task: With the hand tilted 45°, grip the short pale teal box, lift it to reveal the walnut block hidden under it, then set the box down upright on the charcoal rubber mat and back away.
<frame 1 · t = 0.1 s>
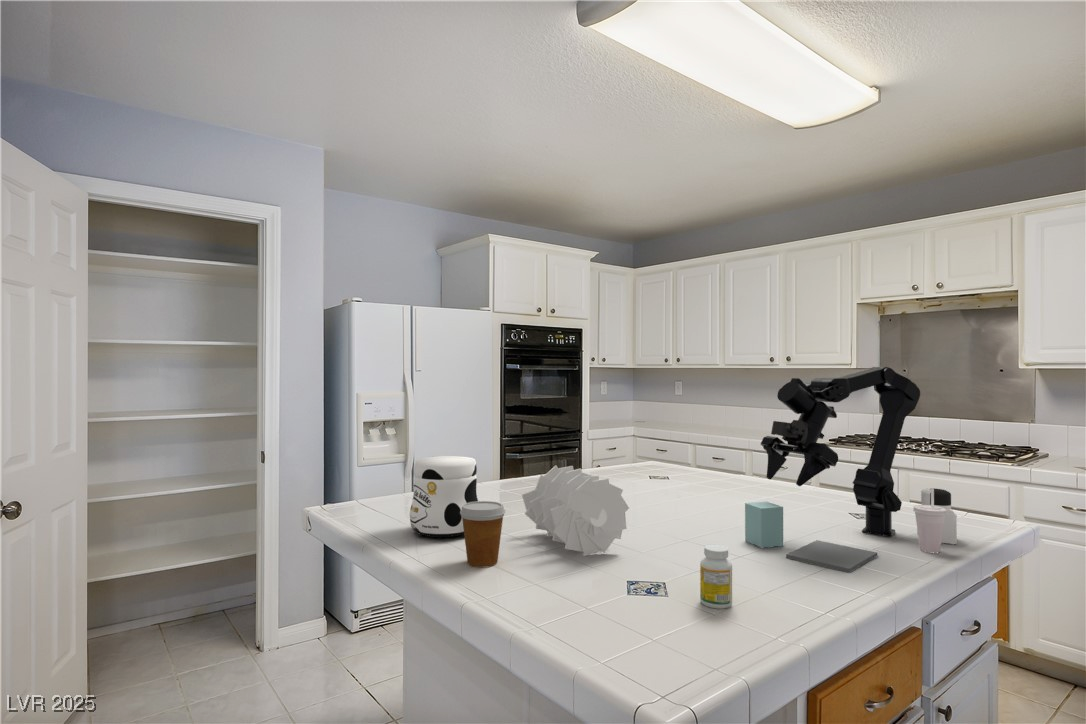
hand: (782, 481, 139), 15 cm above the counter, tool tilted 35°, fingers open, 9 cm apart
disposable coffee cup: (482, 563, 126), on the counter
milk container: (445, 533, 150), on the counter
supplement bottle: (716, 604, 104), on the counter
spiral staircase: (573, 545, 140), on the counter
mat: (831, 557, 131), on the counter
smoothie: (930, 551, 135), on the counter
medicine bottle: (936, 540, 145), on the counter
pale teal box: (764, 543, 141), on the counter
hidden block: (763, 535, 141), in the pale teal box
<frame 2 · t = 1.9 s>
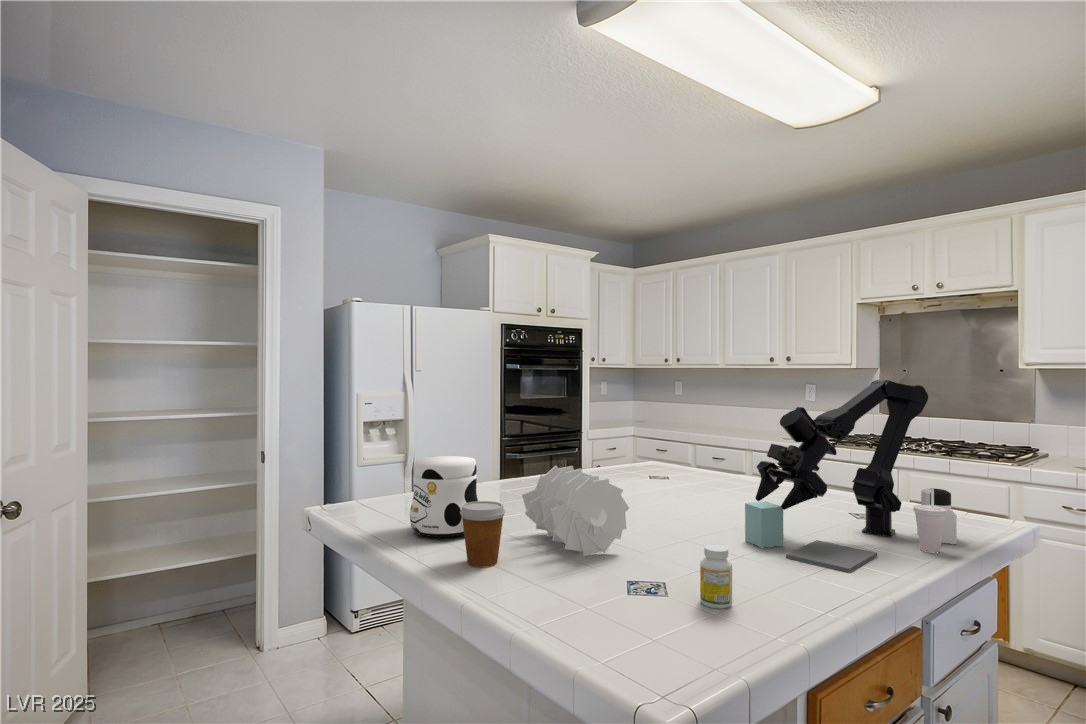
hand: (769, 504, 141), 9 cm above the counter, tool tilted 45°, fingers open, 9 cm apart
nothing on the counter moved.
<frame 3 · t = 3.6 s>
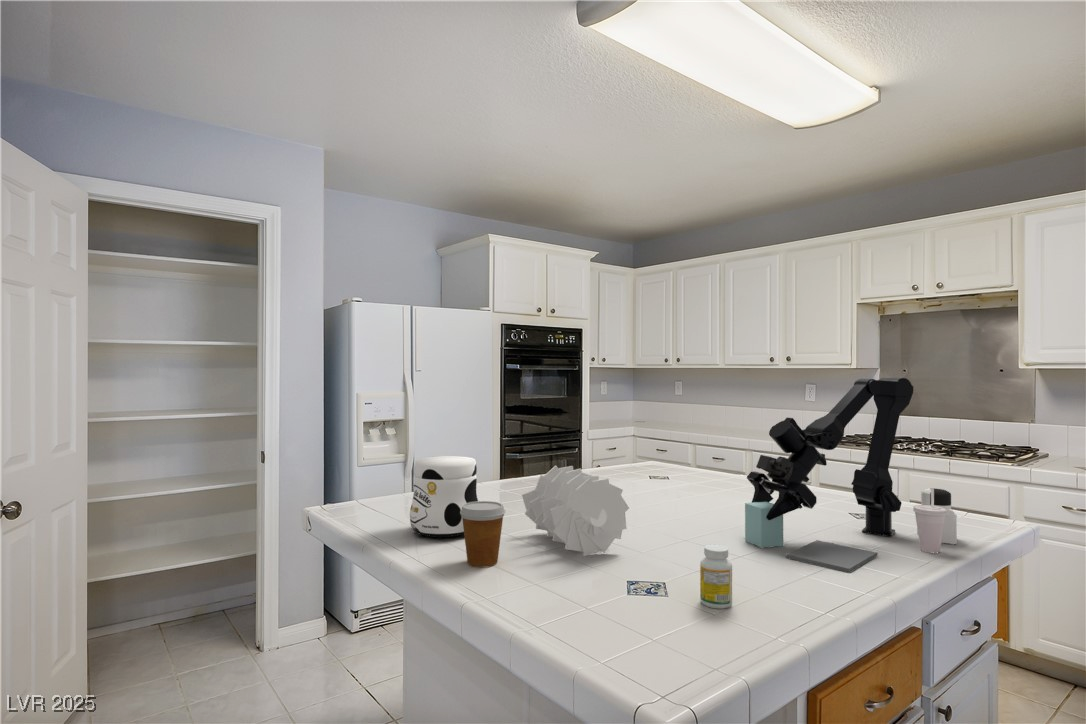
hand: (758, 515, 141), 7 cm above the counter, tool tilted 45°, fingers closed on pale teal box, 6 cm apart
pale teal box: (764, 543, 141), on the counter, touching gripper
everything else where it was.
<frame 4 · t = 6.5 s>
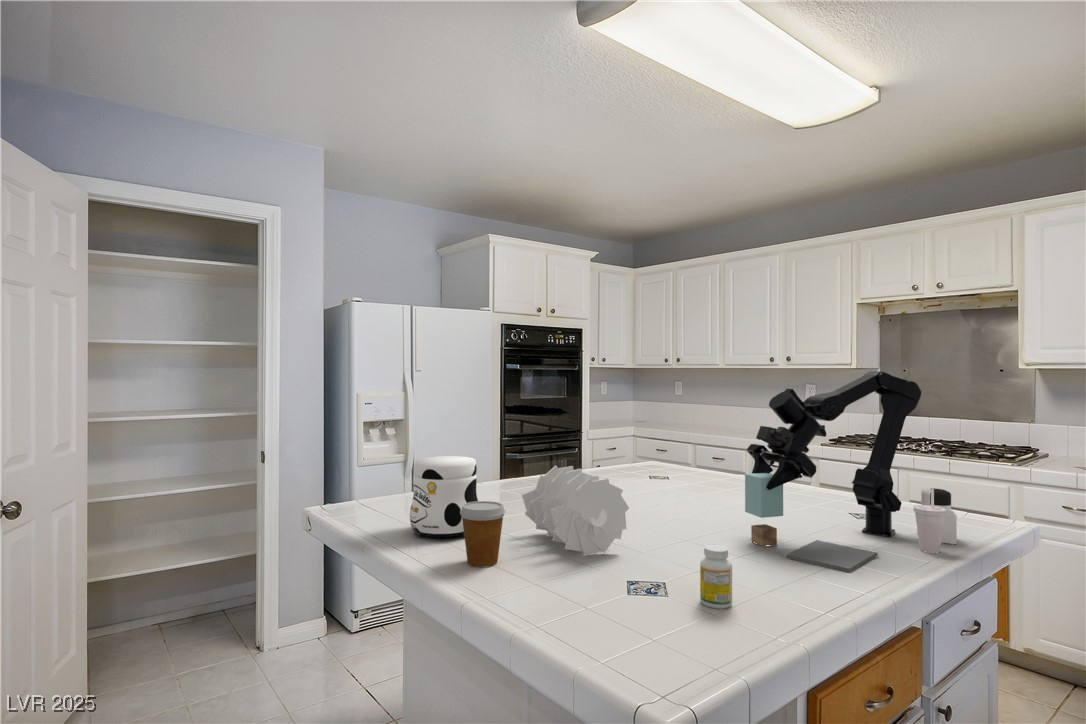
hand: (758, 486, 141), 13 cm above the counter, tool tilted 45°, fingers closed on pale teal box, 6 cm apart
pale teal box: (763, 513, 141), point 7 cm above the counter, touching gripper
everything else where it was.
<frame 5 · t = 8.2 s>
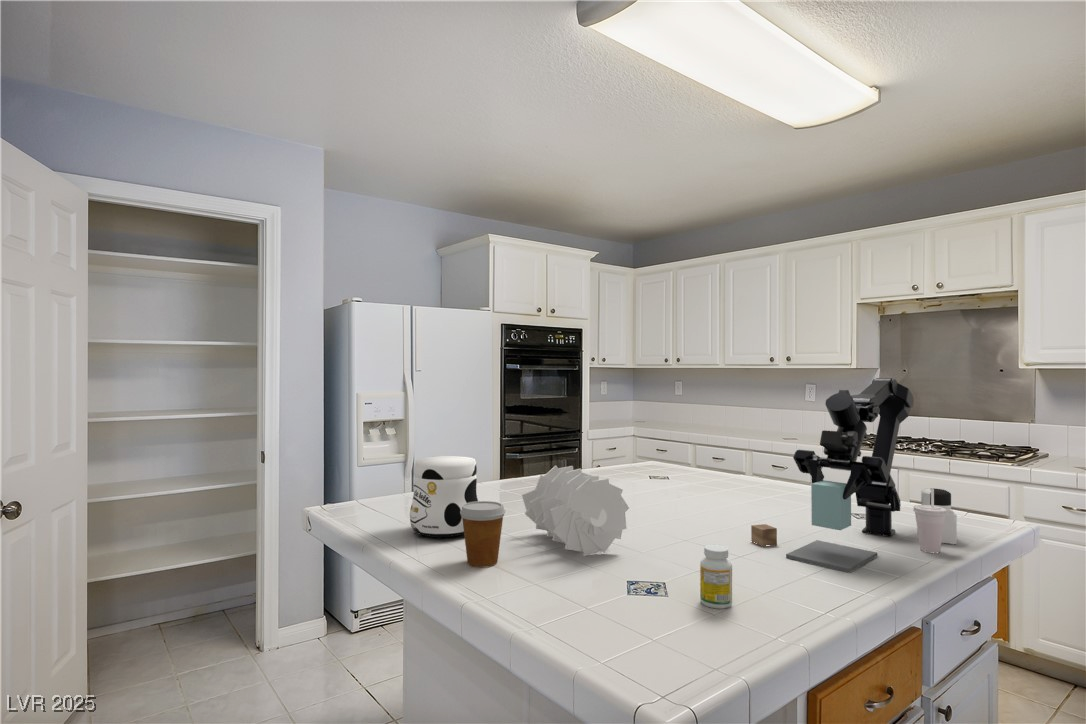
hand: (828, 495, 130), 13 cm above the counter, tool tilted 45°, fingers closed on pale teal box, 6 cm apart
pale teal box: (831, 525, 131), point 7 cm above the counter, touching gripper
everything else where it was.
when the fingers open (9 cm above the counter, at t = 9.7 s): pale teal box drops 1 cm, resting on mat.
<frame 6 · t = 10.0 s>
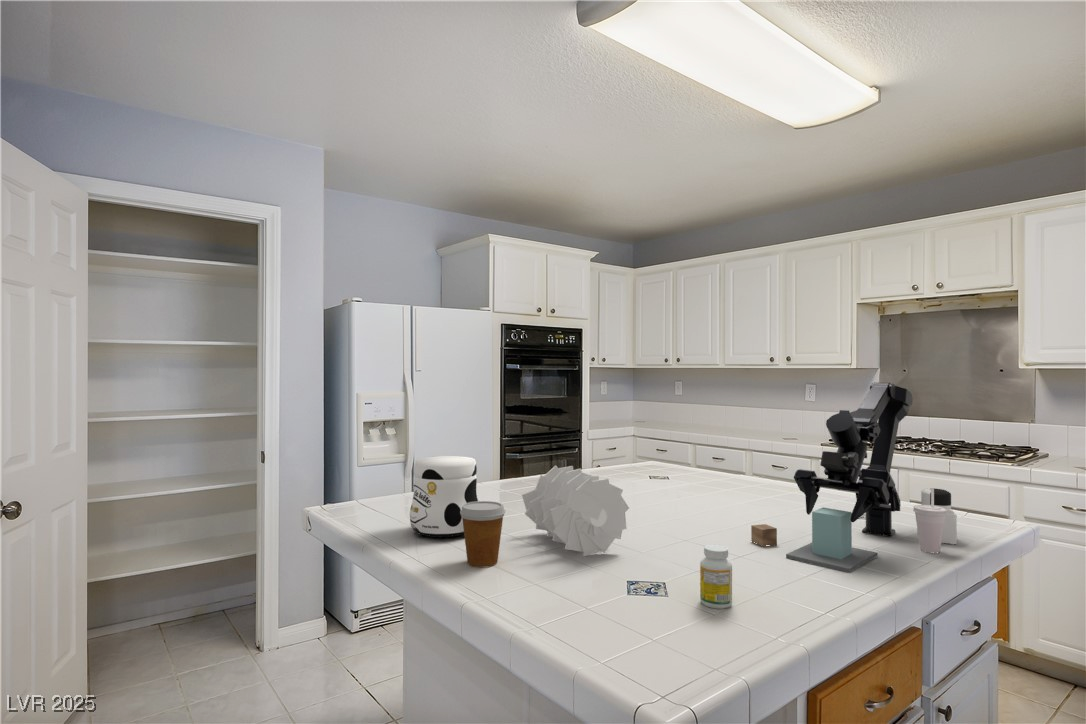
hand: (829, 517, 130), 9 cm above the counter, tool tilted 45°, fingers open, 9 cm apart
pale teal box: (831, 553, 131), point 1 cm above the counter, touching mat
everything else where it was.
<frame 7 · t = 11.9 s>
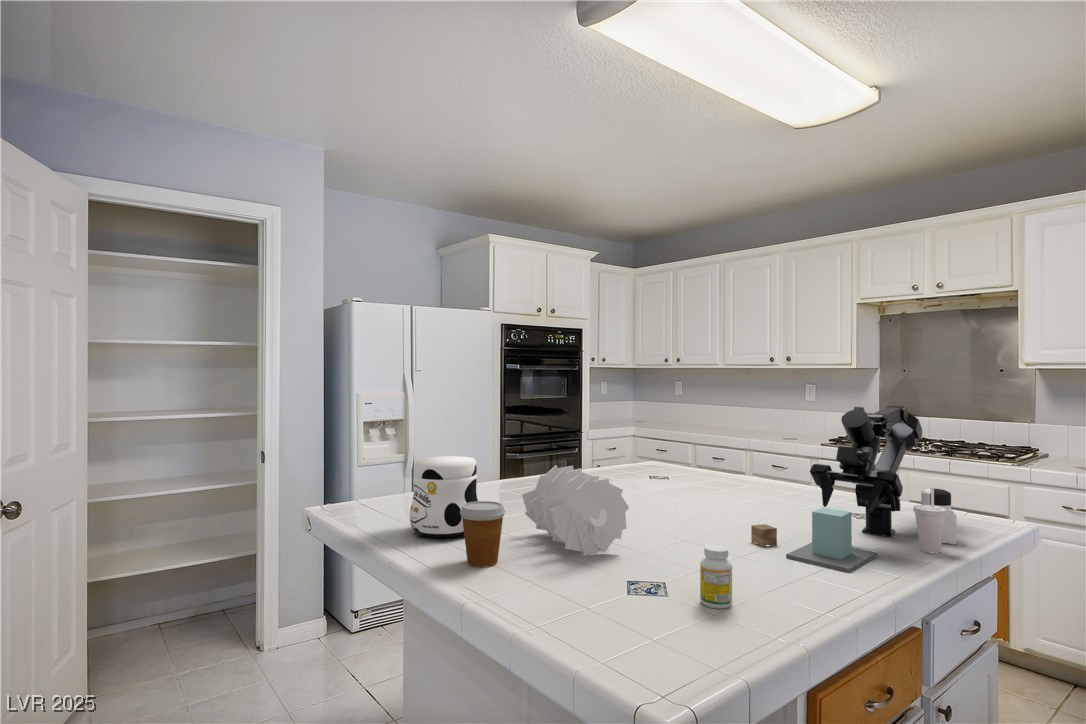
hand: (845, 509, 136), 9 cm above the counter, tool tilted 45°, fingers open, 9 cm apart
nothing on the counter moved.
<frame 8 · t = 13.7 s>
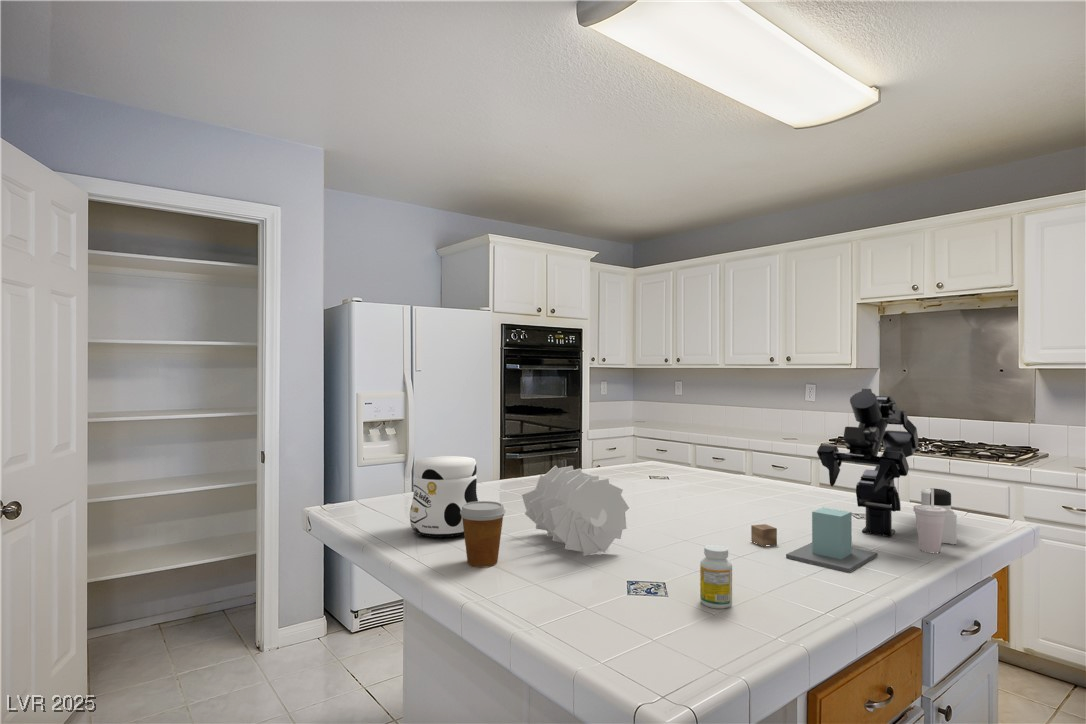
hand: (851, 488, 138), 14 cm above the counter, tool tilted 45°, fingers open, 9 cm apart
nothing on the counter moved.
at the end: pale teal box inside the target area on the mat (0.0 cm from its centre), point 0.8 cm above the mat's base; pale teal box tilted 0°; the gripper is holding nothing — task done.
